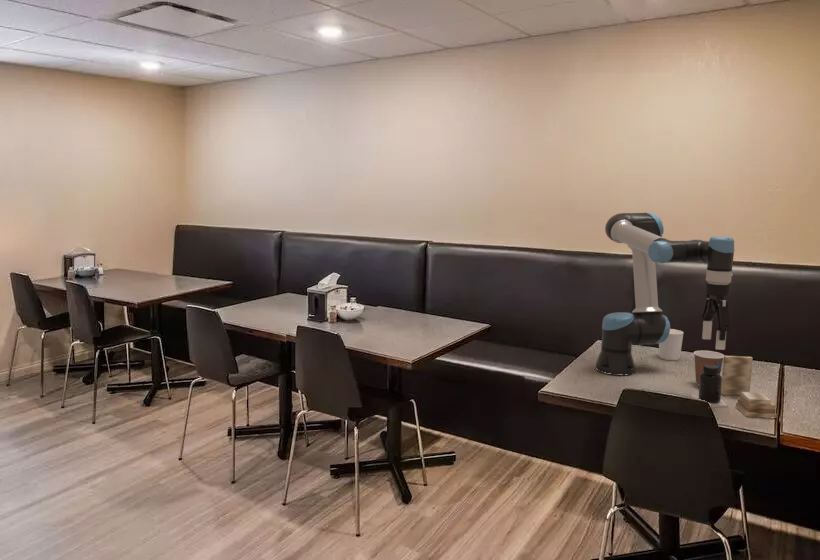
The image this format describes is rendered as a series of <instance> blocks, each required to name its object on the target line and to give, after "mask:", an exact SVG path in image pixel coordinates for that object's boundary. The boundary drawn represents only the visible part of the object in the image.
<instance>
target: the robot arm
mask: <svg viewBox="0 0 820 560" xmlns="http://www.w3.org/2000/svg"><path fill="white" fill-rule="evenodd" d="M604 230H605V232H604V233H606V236H607V237H608V239H609V240H611V241H613V242H615V243H617V244H625V245H627V247H628V248H629V249H630V250H631V252H632V270H633V284H634V287H633V289H634V301H635V302H634V303H635V308H634V309H633V310H632V312H627V311H623V312H619V311H617V312H616V311H615V312H610V313H608V314H606V315H604V317H603V319H602V325H601V345H600V347H601V348H600V352H599V355H598V357H597V359H596V362H595V369H596V368H597V369H598V370H600V371H603V372H606V373H611V374H623V375H622V376H626V375H625V374H631V375H633V374H635V373H634V372H636V365H635V362H634V358H633V354H632V346H636V345H637V346H638V345H639V346H640V345H655V344H658V345H659V343H662V342H664V341H665V340H666V339H667V337H668V335H669V332H670V329H671V324H670V323H671V322H670V320H669V318H668V317H667V316H666V315H664V314H663V309H661V308H660V307H659V300H658V297H659V296H658V283H657V270H656V269H657V267H656V266H657V265H656V263H660V264H665V263H666V264H667V263H671V264H672V263H705V264H706V266H707V267H706V273H705V274H706V275H705V281H706V283H705V288H704V293H705V294H706V295H705V300H704V305H703V309H702V312H701V315H700V317H701V318H702V320H703V322H702V334H701V339H702V340H712V331H713V330H712V328H713V321H714V315H715V319H716V324H717V328H716V329H715V330H716V339H715V350H719V351H720V350H723V351H724V350H726V344H727V343H726V341H727V332H728V331H730V330H731V326H730V314H729V313H730V311H729V300H727V299H726V300H725V296H730V295H731V290H732V289H731V288H732V285H731V284H730V283H732V277H733V276H734V273H733V266H734V265H733V263H734V256H735V254H734V253H735V251H736V250H735V239H734V238H733V237H732V236H731V237H730V236H729V237H728V236H711V237H710V238H709V240H708V241H707V240H702V239H689V240H670V239H668V238H665V237H663V235H664V224H663V221H662V218H661V217H660V216H658V215H657V214H656V213H651V212H650V213H648V212H632V213H631V212H620V213H616V214H614V215H612V216H611V217H610V218H608V219H607V222H606V224H605V229H604ZM598 370H597V371H598ZM600 371H599V372H600ZM606 373H605V374H606ZM632 373H633V374H632ZM611 374H610V375H611Z"/></svg>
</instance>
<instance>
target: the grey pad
mask: <svg viewBox="0 0 820 560" xmlns="http://www.w3.org/2000/svg"><path fill="white" fill-rule="evenodd" d="M690 397H693V398H697V399H699V394H696V395H695V394H691V395H690ZM710 404H711V406H712V407H711V408H721V407H722V409H723V408H726V409H728V408H729V407H728V406H729V405H728V404H727V403H726V402H724V400H722V398H721V400H720V402H718V403H710Z"/></svg>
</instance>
